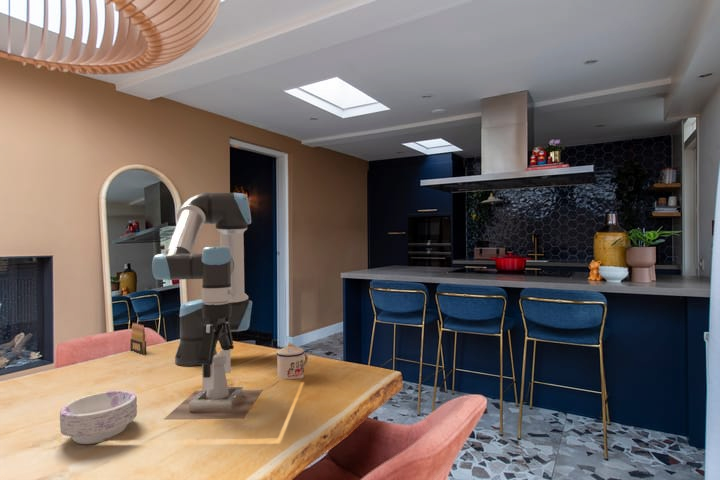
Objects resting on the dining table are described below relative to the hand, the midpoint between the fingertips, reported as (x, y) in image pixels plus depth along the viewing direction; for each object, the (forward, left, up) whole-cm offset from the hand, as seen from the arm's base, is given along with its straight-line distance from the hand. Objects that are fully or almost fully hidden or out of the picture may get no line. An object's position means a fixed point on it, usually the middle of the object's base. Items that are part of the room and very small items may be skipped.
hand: (217, 380), depth 112 cm
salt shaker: (0, 0, -6) cm, 6 cm away
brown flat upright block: (-60, -54, -7) cm, 81 cm away
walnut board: (0, 0, -7) cm, 7 cm away
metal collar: (0, 0, -6) cm, 6 cm away
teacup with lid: (-25, +17, -7) cm, 31 cm away
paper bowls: (+16, -22, -7) cm, 28 cm away
